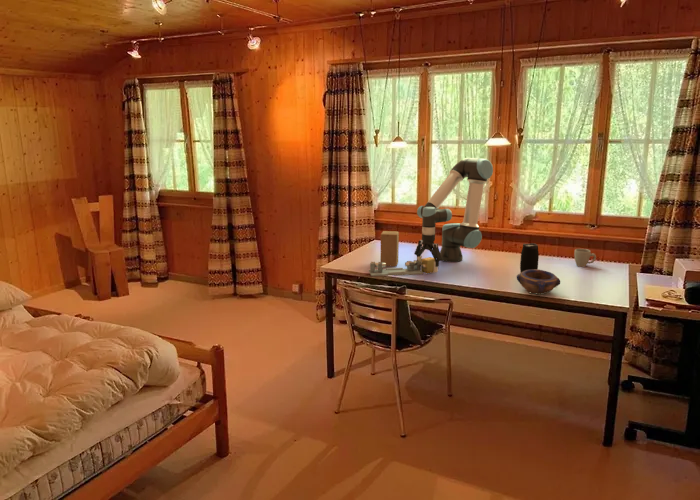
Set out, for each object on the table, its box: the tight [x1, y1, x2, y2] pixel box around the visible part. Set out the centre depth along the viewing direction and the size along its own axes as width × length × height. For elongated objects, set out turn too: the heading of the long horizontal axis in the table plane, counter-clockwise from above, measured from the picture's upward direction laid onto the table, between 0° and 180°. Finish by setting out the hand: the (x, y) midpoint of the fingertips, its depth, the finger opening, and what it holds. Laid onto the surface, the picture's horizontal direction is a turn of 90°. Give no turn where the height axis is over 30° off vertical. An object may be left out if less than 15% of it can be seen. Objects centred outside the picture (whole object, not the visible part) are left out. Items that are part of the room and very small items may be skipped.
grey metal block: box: [404, 259, 422, 272], centre depth 305 cm, size 9×4×6 cm, turn 111°
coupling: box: [421, 256, 435, 275], centre depth 305 cm, size 9×5×8 cm, turn 125°
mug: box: [574, 248, 597, 268], centre depth 315 cm, size 12×9×10 cm
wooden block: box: [379, 230, 400, 267], centre depth 321 cm, size 10×10×20 cm
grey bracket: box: [369, 261, 387, 273], centre depth 303 cm, size 9×4×6 cm, turn 81°
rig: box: [368, 267, 424, 277], centre depth 304 cm, size 30×10×2 cm, turn 96°
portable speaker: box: [519, 242, 540, 274], centre depth 289 cm, size 9×9×20 cm
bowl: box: [516, 269, 561, 295], centre depth 266 cm, size 18×18×10 cm
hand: (427, 269), depth 305 cm, fingers open, 13 cm apart
